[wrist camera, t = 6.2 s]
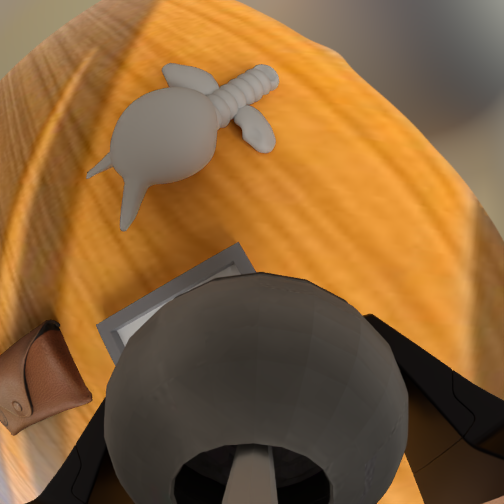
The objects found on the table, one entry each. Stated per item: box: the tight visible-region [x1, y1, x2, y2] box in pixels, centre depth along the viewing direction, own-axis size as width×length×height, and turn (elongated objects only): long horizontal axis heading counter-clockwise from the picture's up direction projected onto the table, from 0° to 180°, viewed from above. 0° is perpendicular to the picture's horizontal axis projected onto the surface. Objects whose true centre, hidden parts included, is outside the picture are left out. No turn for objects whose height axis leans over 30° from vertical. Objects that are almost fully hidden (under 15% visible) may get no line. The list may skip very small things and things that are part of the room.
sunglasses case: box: [0, 320, 92, 436], centre depth 20 cm, size 18×7×7 cm
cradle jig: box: [96, 242, 256, 366], centre depth 20 cm, size 13×13×2 cm
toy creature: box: [86, 63, 279, 231], centre depth 22 cm, size 13×7×20 cm
